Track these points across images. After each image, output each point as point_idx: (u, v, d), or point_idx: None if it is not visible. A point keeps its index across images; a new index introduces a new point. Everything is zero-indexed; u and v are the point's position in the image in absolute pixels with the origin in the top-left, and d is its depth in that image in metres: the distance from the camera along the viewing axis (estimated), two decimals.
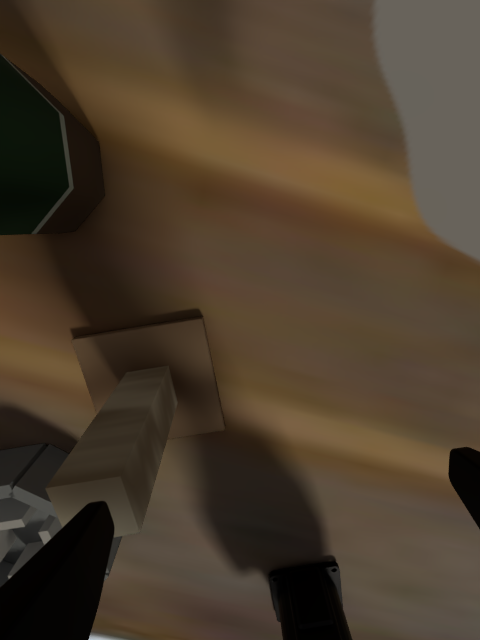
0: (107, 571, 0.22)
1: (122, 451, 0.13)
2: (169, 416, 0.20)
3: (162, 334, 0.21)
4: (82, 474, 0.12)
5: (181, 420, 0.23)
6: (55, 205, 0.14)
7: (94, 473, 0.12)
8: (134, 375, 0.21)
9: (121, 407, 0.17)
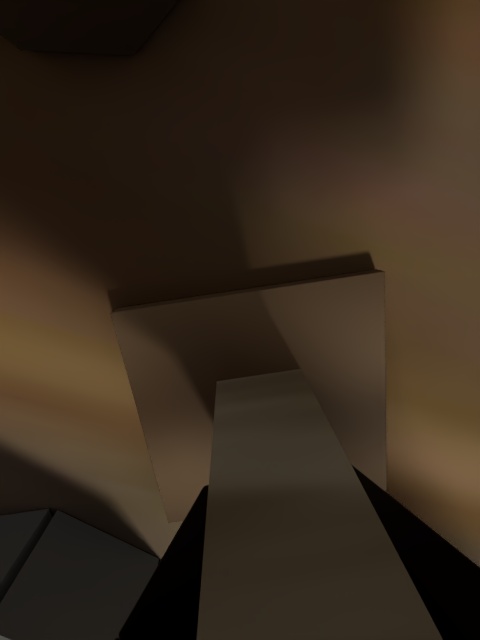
0: None
1: None
2: None
3: (298, 303, 0.10)
4: None
5: None
6: None
7: None
8: (239, 388, 0.10)
9: (268, 482, 0.06)
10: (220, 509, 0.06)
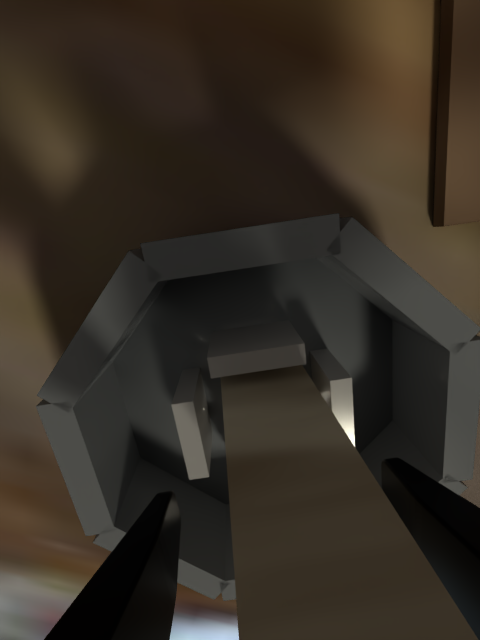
0: (470, 476, 0.10)
1: None
2: None
3: None
4: None
5: None
6: None
7: None
8: None
9: (277, 446, 0.07)
10: (238, 467, 0.07)
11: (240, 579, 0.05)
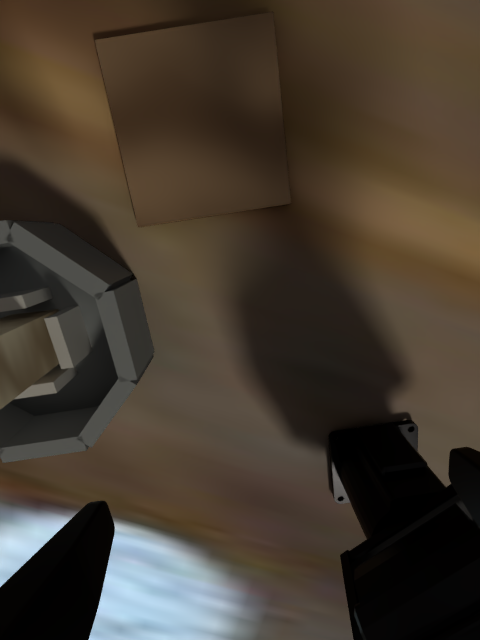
0: (135, 377, 0.17)
1: None
2: (46, 362, 0.17)
3: (218, 36, 0.15)
4: None
5: (234, 183, 0.17)
6: None
7: None
8: (14, 316, 0.18)
9: None
10: None
11: None
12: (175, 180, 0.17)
